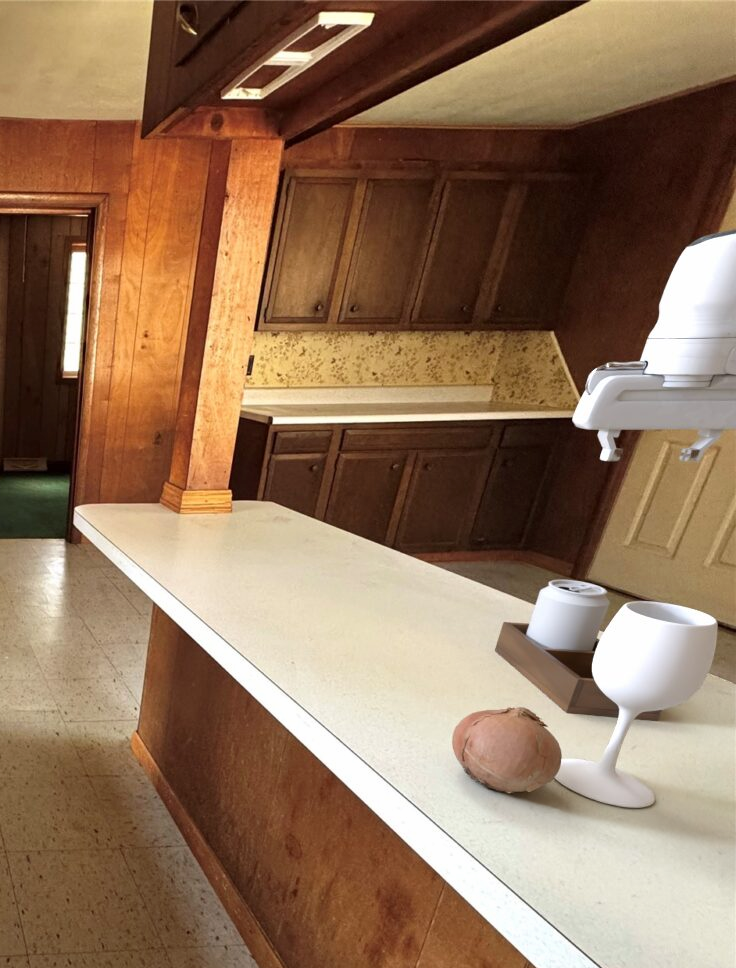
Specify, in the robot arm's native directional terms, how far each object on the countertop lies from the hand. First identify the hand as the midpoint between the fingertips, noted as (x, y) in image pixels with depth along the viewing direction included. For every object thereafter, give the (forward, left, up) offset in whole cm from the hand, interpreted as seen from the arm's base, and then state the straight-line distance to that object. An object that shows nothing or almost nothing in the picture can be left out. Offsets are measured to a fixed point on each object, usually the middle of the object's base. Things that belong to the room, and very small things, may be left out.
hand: (648, 460), depth 96 cm
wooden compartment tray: (+10, +16, -29) cm, 35 cm away
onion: (+31, +44, -29) cm, 61 cm away
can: (+10, +11, -28) cm, 32 cm away
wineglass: (+20, +42, -29) cm, 55 cm away
